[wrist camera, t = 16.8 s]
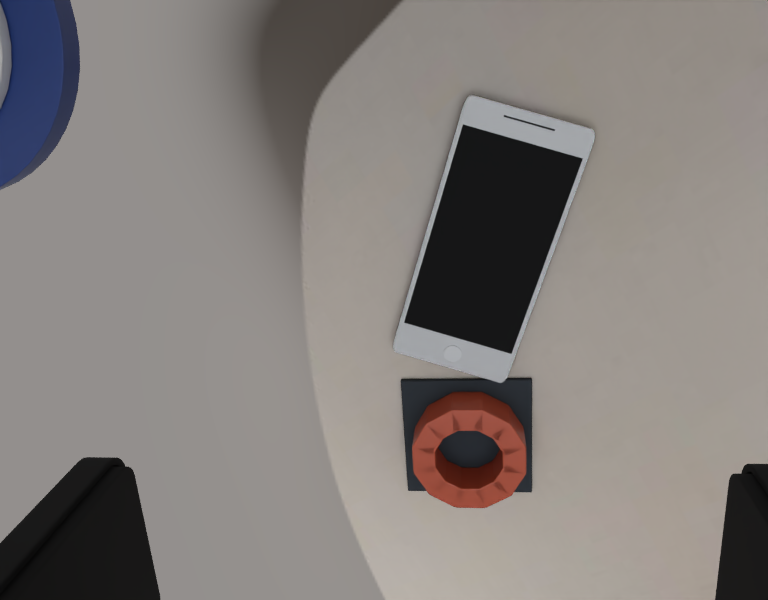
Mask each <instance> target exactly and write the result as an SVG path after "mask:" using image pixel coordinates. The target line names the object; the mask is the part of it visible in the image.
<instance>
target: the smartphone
mask: <svg viewBox="0 0 768 600" xmlns="http://www.w3.org/2000/svg"><path fill="white" fill-rule="evenodd" d="M594 140H595V133H594V131H593V130H592V129H591V128H588V127H585V126H581V125H578V124H574V123H571V122H567V121H564V120H560V119H557V118H553V117H550V116H546V115H543V114H539V113H536V112H532V111H529V110H525V109H522V108H518V107H514V106H511V105H507V104H504V103H500V102H497V101H493V100H490V99H486V98H483V97H479V96H476V95H470V96H469V97H467V99H466V101H465V103H464V105H463V108H462V112H461V115H460V118H459V122H458V125H457V129H456V132H455V135H454V139H453V142H452V146H451V149H450V152H449V156H448V159H447V163H446V166H445V169H444V173H443V176H442V179H441V183H440V186H439V190H438V193H437V196H436V200H435V203H434V207H433V210H432V213H431V217H430V220H429V224H428V227H427V230H426V234H425V237H424V241H423V244H422V247H421V251H420V254H419V257H418V261H417V264H416V268H415V271H414V274H413V278H412V281H411V285H410V288H409V291H408V295H407V298H406V302H405V305H404V308H403V312H402V315H401V319H400V322H399V325H398V329H397V332H396V335H395V339H394V344H393V349H394V351H395V352H396V353H400V354H403V355H407V356H410V357H413V358H417V359H420V360H424V361H427V362H430V363H434V364H437V365H441V366H444V367H447V368H451V369H454V370H458V371H461V372H465V373H468V374H471V375H475V376H478V377H482V378H485V379H488V380H492V381H495V382H499V383H502V382H504V381H505V380H506V378H507V376H508V374H509V372H510V369H511V366H512V364H513V361H514V358H515V355H516V353H517V350H518V347H519V344H520V342H521V339H522V336H523V334H524V331H525V328H526V325H527V323H528V320H529V317H530V315H531V312H532V309H533V306H534V304H535V301H536V298H537V296H538V293H539V290H540V287H541V285H542V282H543V279H544V277H545V274H546V271H547V268H548V266H549V263H550V260H551V258H552V255H553V252H554V249H555V247H556V244H557V241H558V239H559V236H560V233H561V230H562V228H563V225H564V222H565V220H566V217H567V214H568V211H569V209H570V206H571V203H572V201H573V198H574V195H575V192H576V190H577V187H578V184H579V182H580V179H581V176H582V173H583V171H584V168H585V165H586V163H587V160H588V157H589V154H590V152H591V149H592V146H593V143H594Z"/></svg>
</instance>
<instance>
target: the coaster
mask: <svg viewBox="0 0 768 600" xmlns="http://www.w3.org/2000/svg"><path fill="white" fill-rule="evenodd" d="M401 390H402V405H403V420H404V435H405V450H406V465H407V480H408V491H427V490H426V489H425V488H424V486H423V485H422V484H421V482H420V481H419V479H418V478H417V477H416V475H415V474H414V471H413V457H412V444H413V437H414V431H415V426H416V425H417V423H418V421H419V420H420V418H421V416H422V415H423V413H424V411H425V410H426V408H427V406H429V405H430V404H432V403H434V402H435V401H437V400H439V399H441V398H443V397H445V396H447V395H449V394H450V393H453V392H483V393H485V394H487V395H489V396H491V397H493V398H495V399H497V400H499V401H501V402H503V403H505V404H507V405H509V406H510V408H511V409H512V411H513V412H514V414H515V415H516V417H517V418H518V420H519V421H520V423H521V424H522V426H523V428H524V434H525V442H526V475H525V476H524V478H523V479H522V481H521V482H520V484H519V485H518V487H517V488H516V490H515V491H514V492H532V379H531V378H506V380H505V381H504V382H502V383H499V382H495V381H492V380H488V379H401ZM438 448H439V450H440V451H441V453H442V454H443V455H444V457H445V458H446V460H447V461H449V462H451V463H453V464H455V465H457V466H460V467H462V468H479V467H481V466H483V465H485V464H487V463H489V462H491V461H493V459H494V458H495V456H496V455H497V453H498V452H499V450H500V448H499V447H498V445H497V444H496V442H495V441H494V439H493V438H491V437H489V436H487V435H485V434H483V433H481V432H479V431H457V432H455V433H453V434H451V435H449V436H447V437H445V438H443V440H442V442H441V443H440V445H439V447H438Z"/></svg>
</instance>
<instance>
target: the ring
mask: <svg viewBox="0 0 768 600" xmlns="http://www.w3.org/2000/svg"><path fill="white" fill-rule="evenodd" d="M457 431H479V432H481V433H483V434H485V435H487V436H489V437H491V438H493V439H494V441H495V442H496V444H497V445H498V447H499V448H500V450H499V452H498V453H497V455H496V456H495V458H494V459H493V461H491V462H489V463H487V464H485V465H483V466H481V467H479V468H462V467H460V466H457V465H455V464H453V463H451V462H449V461H447V460H446V458H445V457H444V455H443V454H442V453H441V451H440V450H439V448H438V447H439V445H440V443H441V442H442V440H443V438H445V437H447V436H449V435H451V434H453V433H455V432H457ZM412 457H413V471H414V474H415V475H416V477H417V478H418V479H419V481H420V482H421V484H422V485H423V486H424V488H425V489H426V490H427V492H428V493H429V494H430V495H431V496H433V497H435V498H437V499H439V500H442V501H444V502H446V503H448V504H450V505H452V506H454V507H457V508H485V507H488V506H490V505H492V504H495V503H497V502H499V501H501V500H503V499H505V498H507V497H509V496H511V495H512V494H513V492H514V491H515V490H516V488H517V487H518V485H519V484H520V482H521V481H522V479H523V478H524V476H525V475H526V442H525V434H524V428H523V426H522V424H521V423H520V421H519V420H518V418H517V417H516V415H515V414H514V412H513V411H512V409H511V408H510V406H509V405H507V404H505V403H503V402H501V401H499V400H497V399H495V398H493V397H491V396H489V395H487V394H485V393H483V392H453V393H450V394H449V395H447V396H445V397H443V398H441V399H439V400H437V401H435V402H434V403H432V404H430V405H429V406H427V408H426V410H425V411H424V413H423V415H422V416H421V418H420V420H419V421H418V423H417V425H416V426H415V431H414V437H413V444H412Z"/></svg>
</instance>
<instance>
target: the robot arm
mask: <svg viewBox="0 0 768 600" xmlns="http://www.w3.org/2000/svg"><path fill="white" fill-rule="evenodd" d="M11 68H12V59H11V41H10V35H9V30H8V25H7V20H6V17H5V14H4V11H3V9H2V6H1V3H0V109H1V107H2V104H3V101H4V99H5V96H6V93H7V91H8V87H9V81H10V74H11ZM0 600H160V593H159V589H158V584H157V579H156V574H155V570H154V565H153V560H152V555H151V551H150V546H149V541H148V536H147V532H146V527H145V522H144V517H143V513H142V508H141V503H140V499H139V494H138V489H137V484H136V479H135V475H134V472H133V470H132V469H131V468H129V467H125V465H124V463H123V461H122V460H121V459H119V458H95V457H93V458H91V457H87V458H83V459H81V460H80V461H79V462H78V463H77V464H76V465H75V466H74V467H73V468H72V469H71V470H70V471H69V472H68V473H67V474H66V475H65V476H64V477H63V478H62V479H61V480H60V481H59V483H58V484H57V485H56V486H55V487H54V488H53V489H52V490H51V491H50V492H49V493H48V494H47V495H46V496H45V497H44V498H43V499H42V500H41V501H40V502H39V503H38V505H36V506H35V508H34V509H33V510H32V511H31V512H30V513H29V514H28V515H27V516H26V517H25V518H24V519H23V520H22V521H21V522H20V523H19V524H18V525H17V526H16V528H14V529H13V531H12V532H11V533H10V534H9V535H8V536H7V537H6V538H5V539H4V540H3V541H2V542H1V543H0ZM715 600H768V464H747V465H745V466H744V468H743V470H742V474H732V475H731V477H730V480H729V486H728V495H727V504H726V512H725V521H724V529H723V538H722V546H721V555H720V564H719V572H718V581H717V589H716V598H715Z"/></svg>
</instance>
